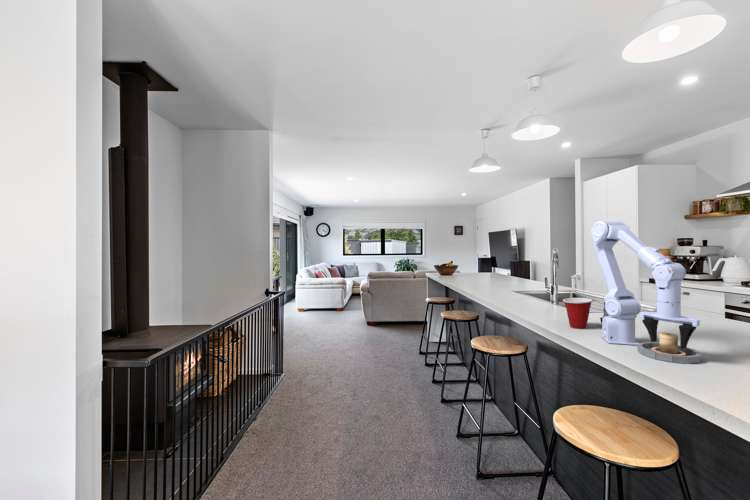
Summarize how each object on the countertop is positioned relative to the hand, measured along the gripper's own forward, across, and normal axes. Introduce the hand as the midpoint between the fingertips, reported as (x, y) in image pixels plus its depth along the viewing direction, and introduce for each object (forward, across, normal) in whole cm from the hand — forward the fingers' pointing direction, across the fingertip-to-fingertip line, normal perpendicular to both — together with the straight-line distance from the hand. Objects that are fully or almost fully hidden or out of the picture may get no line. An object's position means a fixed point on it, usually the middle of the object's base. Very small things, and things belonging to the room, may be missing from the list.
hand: (668, 344), depth 107 cm
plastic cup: (+4, +35, -10) cm, 37 cm away
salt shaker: (+4, +29, -20) cm, 36 cm away
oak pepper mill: (+3, 0, 0) cm, 3 cm away
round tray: (+3, 0, 0) cm, 3 cm away
